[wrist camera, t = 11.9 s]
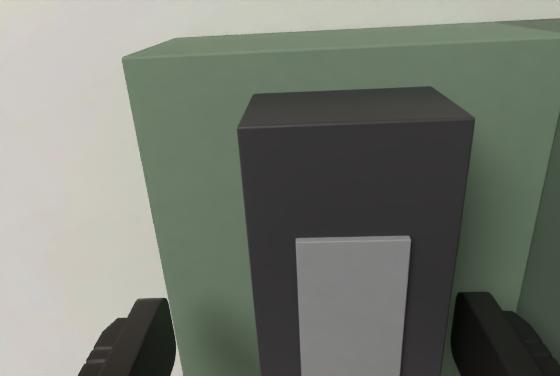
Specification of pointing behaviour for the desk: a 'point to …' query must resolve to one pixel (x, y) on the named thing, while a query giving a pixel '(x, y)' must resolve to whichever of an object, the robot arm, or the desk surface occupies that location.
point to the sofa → (348, 76)
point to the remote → (353, 227)
